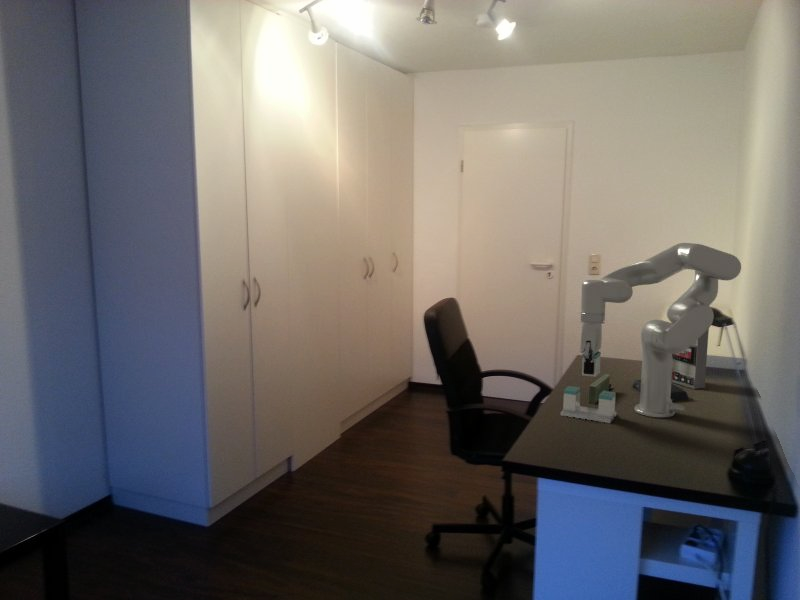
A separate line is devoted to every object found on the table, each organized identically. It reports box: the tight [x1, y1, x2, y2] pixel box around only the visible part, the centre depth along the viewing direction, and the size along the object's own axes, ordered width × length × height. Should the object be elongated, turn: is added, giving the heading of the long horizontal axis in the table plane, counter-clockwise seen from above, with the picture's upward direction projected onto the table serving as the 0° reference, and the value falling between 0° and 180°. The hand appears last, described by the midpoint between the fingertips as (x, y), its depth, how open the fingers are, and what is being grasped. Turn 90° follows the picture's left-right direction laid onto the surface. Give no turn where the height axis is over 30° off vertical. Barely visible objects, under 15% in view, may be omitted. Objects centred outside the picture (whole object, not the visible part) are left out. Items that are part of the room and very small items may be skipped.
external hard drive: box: [631, 379, 690, 402], centre depth 240 cm, size 13×19×4 cm
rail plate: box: [560, 385, 617, 424], centre depth 213 cm, size 16×10×8 cm, turn 60°
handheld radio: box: [587, 373, 612, 405], centre depth 237 cm, size 7×3×25 cm
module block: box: [581, 351, 601, 378], centre depth 211 cm, size 4×6×7 cm
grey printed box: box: [670, 322, 710, 390], centre depth 252 cm, size 14×6×25 cm, turn 23°
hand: (591, 371), depth 211 cm, fingers closed on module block, 6 cm apart
